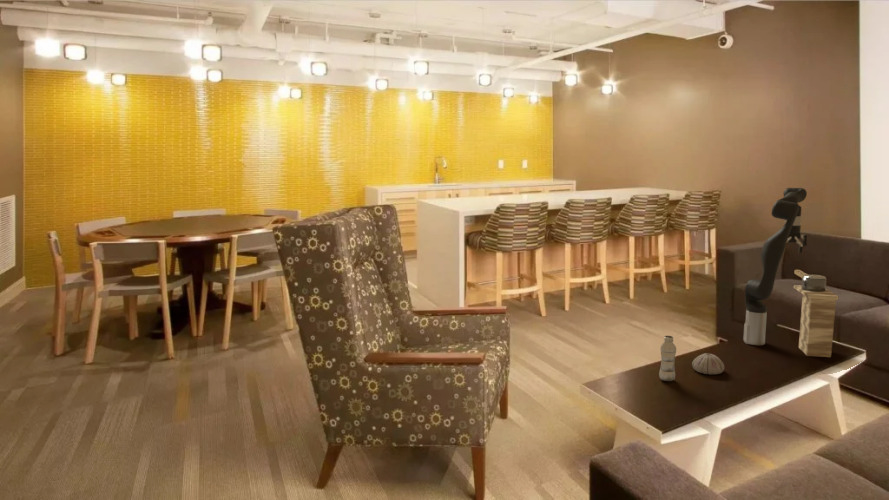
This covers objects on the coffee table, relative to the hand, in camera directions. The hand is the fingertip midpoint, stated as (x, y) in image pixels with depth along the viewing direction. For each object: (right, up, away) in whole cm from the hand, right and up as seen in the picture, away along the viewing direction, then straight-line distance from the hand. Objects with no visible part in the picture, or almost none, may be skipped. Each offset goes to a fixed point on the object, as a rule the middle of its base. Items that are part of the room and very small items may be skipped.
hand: (790, 253), depth 302 cm
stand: (-9, -48, -30) cm, 57 cm away
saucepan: (-7, -16, -23) cm, 29 cm away
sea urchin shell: (-72, -54, -53) cm, 105 cm away
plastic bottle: (-95, -56, -62) cm, 126 cm away
